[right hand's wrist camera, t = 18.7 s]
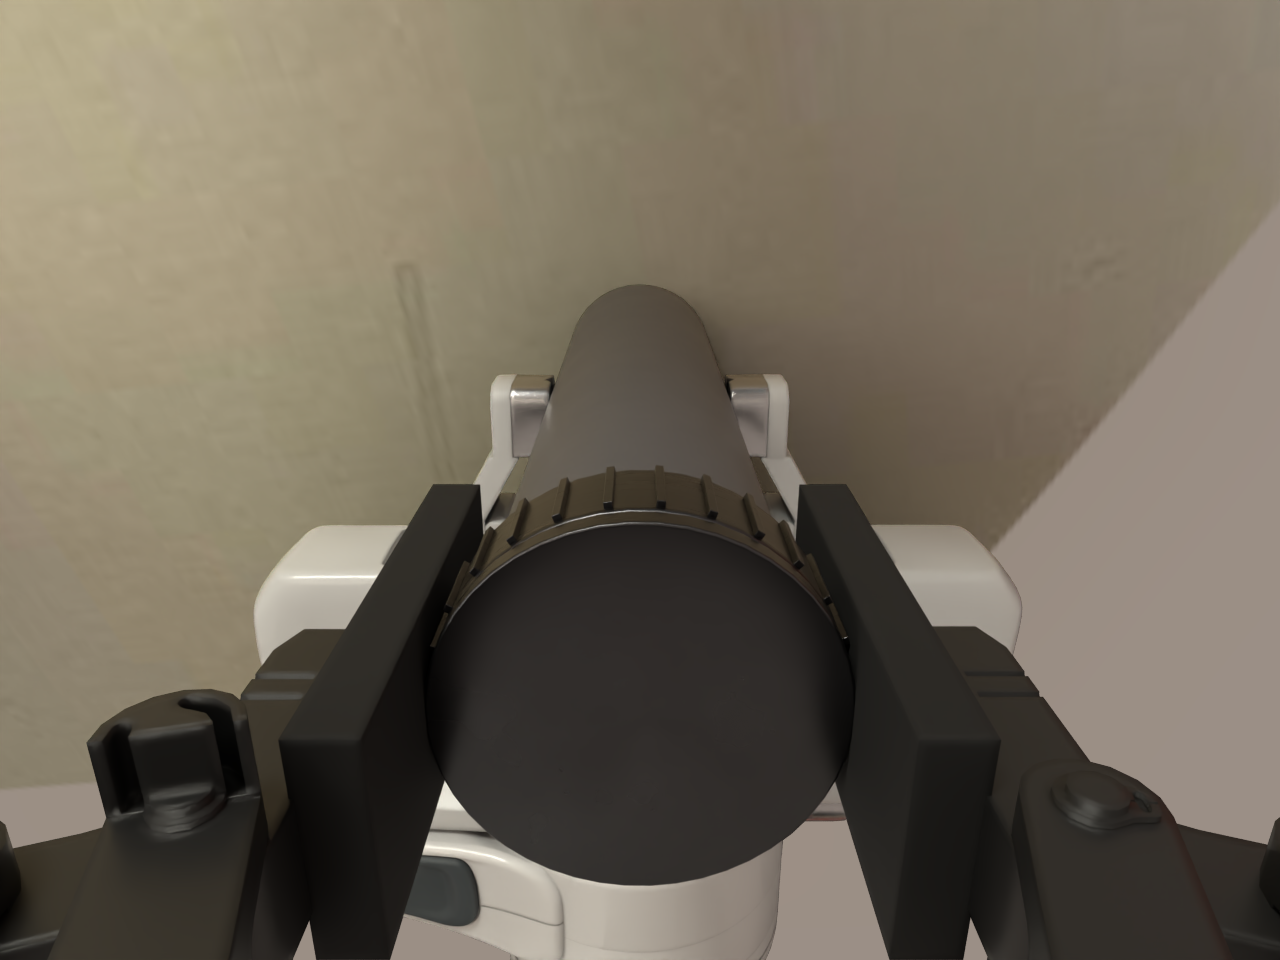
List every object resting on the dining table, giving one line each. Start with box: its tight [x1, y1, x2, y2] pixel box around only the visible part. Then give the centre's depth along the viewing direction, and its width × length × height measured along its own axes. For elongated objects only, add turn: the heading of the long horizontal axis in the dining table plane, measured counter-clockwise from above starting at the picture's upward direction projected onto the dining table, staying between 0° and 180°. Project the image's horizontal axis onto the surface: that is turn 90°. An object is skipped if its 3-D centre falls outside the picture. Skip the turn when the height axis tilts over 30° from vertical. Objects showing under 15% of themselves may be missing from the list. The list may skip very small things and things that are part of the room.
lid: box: [425, 465, 855, 886], centre depth 11 cm, size 5×5×2 cm
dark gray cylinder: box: [509, 285, 771, 516], centre depth 20 cm, size 4×4×19 cm
